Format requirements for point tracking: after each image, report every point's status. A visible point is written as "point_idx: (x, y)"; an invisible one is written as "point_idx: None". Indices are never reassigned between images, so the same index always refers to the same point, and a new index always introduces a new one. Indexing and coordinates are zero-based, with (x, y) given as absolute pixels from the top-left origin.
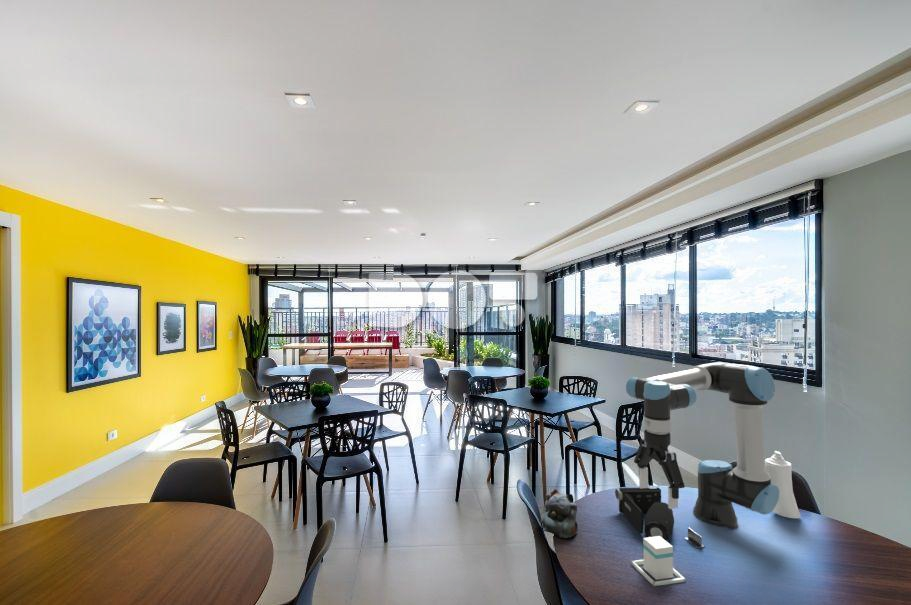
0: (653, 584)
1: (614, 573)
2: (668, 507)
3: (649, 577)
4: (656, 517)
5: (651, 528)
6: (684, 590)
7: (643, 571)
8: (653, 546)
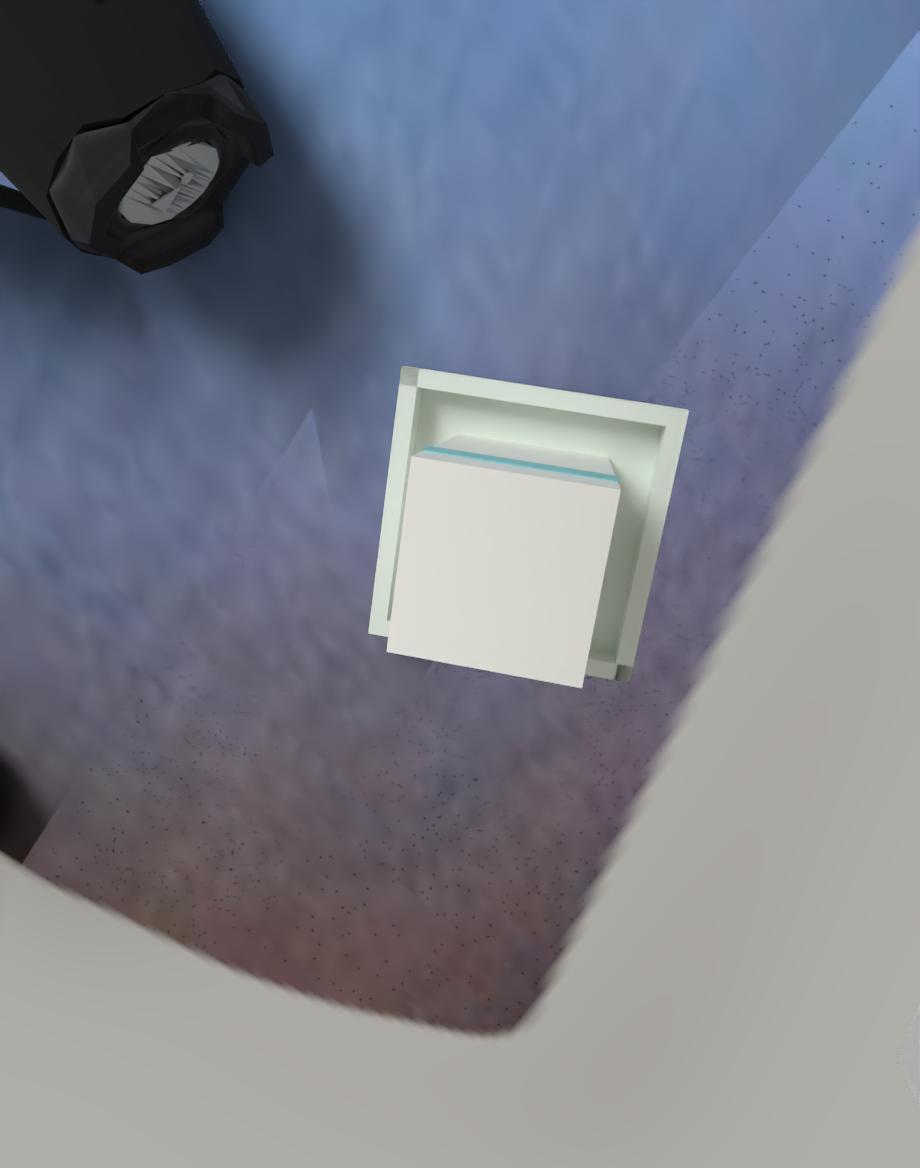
0: (623, 677)
1: (397, 774)
2: (905, 1069)
3: None
4: (23, 64)
5: (119, 207)
6: (720, 468)
7: None
8: (539, 678)
